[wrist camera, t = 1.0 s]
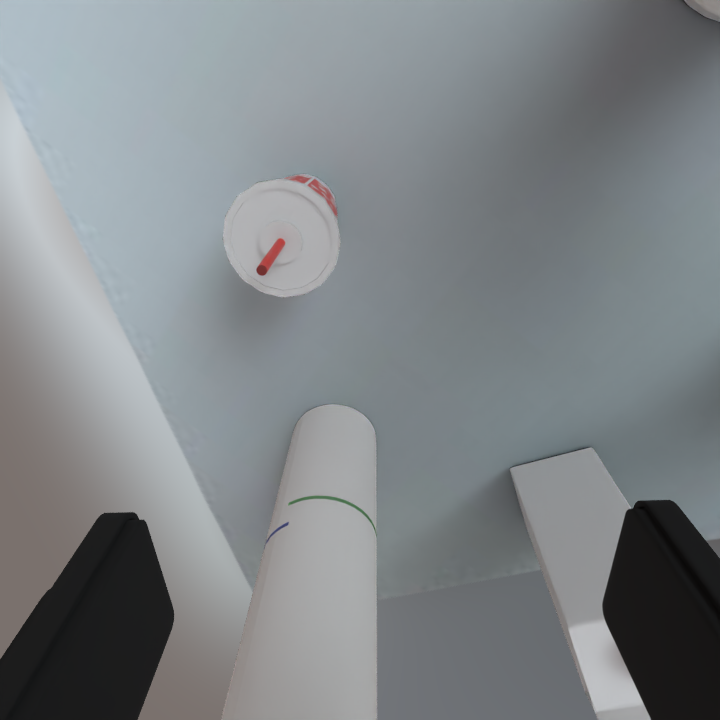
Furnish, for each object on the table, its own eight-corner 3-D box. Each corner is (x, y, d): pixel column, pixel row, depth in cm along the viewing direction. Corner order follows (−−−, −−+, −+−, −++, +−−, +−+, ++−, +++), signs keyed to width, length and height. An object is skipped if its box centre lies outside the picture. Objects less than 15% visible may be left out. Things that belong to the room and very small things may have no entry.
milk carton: (603, 505, 45) (740, 746, 28) (524, 523, 46) (610, 764, 29) (591, 445, 42) (737, 674, 25) (508, 466, 43) (593, 698, 26)
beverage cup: (246, 231, 34) (173, 302, 22) (277, 144, 32) (214, 169, 19) (327, 268, 35) (301, 355, 23) (363, 186, 33) (356, 235, 20)
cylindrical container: (275, 437, 42) (166, 803, 20) (334, 388, 40) (282, 741, 18) (335, 485, 45) (295, 861, 22) (393, 441, 42) (413, 813, 20)
